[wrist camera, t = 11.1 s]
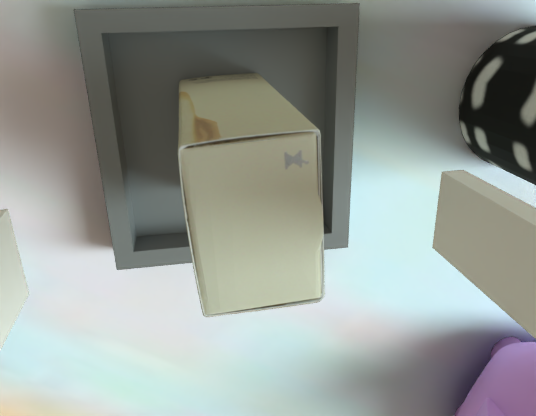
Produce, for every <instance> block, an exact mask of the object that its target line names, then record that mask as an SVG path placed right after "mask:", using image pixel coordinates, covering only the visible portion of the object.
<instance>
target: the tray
mask: <svg viewBox="0 0 536 416" xmlns="http://www.w3.org/2000/svg"><path fill="white" fill-rule="evenodd" d="M359 4H360V3H353V4H306V5H260V6H213V7H167V8H120V9H74V14H75V20H76V26H77V32H78V38H79V44H80V50H81V56H82V62H83V68H84V74H85V81H86V87H87V93H88V99H89V105H90V111H91V117H92V123H93V129H94V135H95V141H96V147H97V153H98V159H99V165H100V171H101V177H102V183H103V189H104V195H105V201H106V207H107V213H108V220H109V226H110V232H111V238H112V244H113V250H114V256H115V262H116V268H117V270H122V269H132V268H142V267H153V266H163V265H173V264H183V263H192V257H191V251H190V245H189V239H188V234H187V228H186V221H185V214H184V208H183V201H182V192H181V183H180V173H179V162H178V140H179V82H180V81H181V80H184V79H191V78H199V77H208V76H218V75H232V74H248V73H258V74H259V75H260V76H262V77H263V78H264V79H265V80H266V81H267V82H268V83H269V84H270V85H271V86H272V87H273V88H274V89H276V90H277V91H278V92H279V93H280V94H281V95H282V96H283V97H284V98H285V99H286V100H287V101H289V102H290V103H291V104H292V105H293V106H294V107H295V108H296V109H297V110H298V111H299V112H300V113H301V114H303V115H304V116H305V117H306V118H307V119H308V120H309V121H310V122H311V123H312V124H313V125H315V126H316V127H317V128H318V129H319V130H320V134H321V161H322V199H323V227H324V250H326V249H336V248H347V247H348V235H349V214H350V193H351V172H352V151H353V130H354V109H355V88H356V67H357V46H358V25H359Z"/></svg>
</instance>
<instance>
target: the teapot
mask: <svg viewBox="0 0 536 416" xmlns="http://www.w3.org/2000/svg"><path fill="white" fill-rule="evenodd" d="M455 416H536V342H521V341H520V340H519V339H518V338H516V337H507V338H504V339H502V340H500V341H499V342H497V343H496V344H495V346H494V347H493V349H492V351H491V360H490V361H489V362H488V364H487V365H486V366H485V368H484V370H483V371H482V373H481V374H480V376H479V377H478V379H477V380H476V382H475V383H474V385H473V387H472V388H471V390H470V392H469V393H468V395H467V397H466V399H465V400H464V402H463V404H462V405H460V406H459V407H458V409H457V410H456V412H455Z"/></svg>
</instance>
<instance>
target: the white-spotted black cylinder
mask: <svg viewBox="0 0 536 416" xmlns="http://www.w3.org/2000/svg"><path fill="white" fill-rule="evenodd" d="M459 121H460V126H461V131H462V134H463V136H464V138H465V141H466V143H467V144H468V146H469V147H470V148H471V150H472V151H473V152H474V153H475V154H476V155H477V156H479V157H480V158H481V159H483V160H485V161H487V162H489V163H491V164H493V165H495V166H497V167H499V168H501V169H503V170H505V171H508V172H510V173H512V174H514V175H516V176H518V177H520V178H522V179H524V180H526V181H528V182H530V183H532V184H535V185H536V26H532V27H527V28H522V29H519V30H517V31H514V32H512V33H509V34H507V35H506V36H504V37H503V38H501V39H500V40H498V41H497V42H495V43H494V44H493V45H492V46H491V47H490V48H489V49H488V50H486V51H485V52H484V53H483V55H482V56H481V57H480V59H479V60H478V61H477V62H476V64H475V65H474V67H473V68H472V70H471V72H470V74H469V76H468V77H467V80H466V83H465V85H464V88H463V91H462V95H461V100H460V106H459Z"/></svg>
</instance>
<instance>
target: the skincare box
mask: <svg viewBox="0 0 536 416" xmlns="http://www.w3.org/2000/svg"><path fill="white" fill-rule="evenodd" d="M178 162H179V173H180V183H181V192H182V201H183V208H184V214H185V221H186V228H187V234H188V239H189V245H190V251H191V257H192V263H193V268H194V273H195V278H196V283H197V288H198V293H199V298H200V303H201V308H202V312H203V315H204V316H205V317H213V316H220V315H227V314H237V313H244V312H252V311H260V310H267V309H274V308H282V307H290V306H296V305H303V304H310V303H317V302H320V301H321V300H322V299H323V297H324V295H325V291H324V227H323V199H322V161H321V134H320V130H319V129H318V128H317V127H316V126H315V125H313V124H312V123H311V122H310V121H309V120H308V119H307V118H306V117H305V116H304V115H303V114H301V113H300V112H299V111H298V110H297V109H296V108H295V107H294V106H293V105H292V104H291V103H290V102H289V101H287V100H286V99H285V98H284V97H283V96H282V95H281V94H280V93H279V92H278V91H277V90H276V89H274V88H273V87H272V86H271V85H270V84H269V83H268V82H267V81H266V80H265V79H264V78H263V77H262V76H260V75H259V74H258V73H248V74H232V75H218V76H208V77H199V78H191V79H184V80H181V81H180V82H179V140H178Z"/></svg>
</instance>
